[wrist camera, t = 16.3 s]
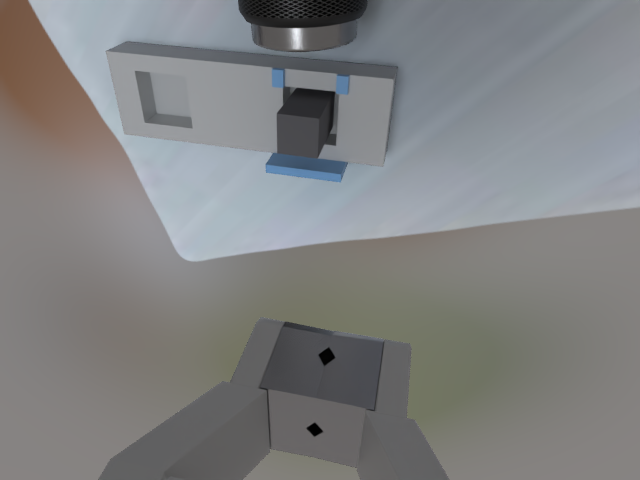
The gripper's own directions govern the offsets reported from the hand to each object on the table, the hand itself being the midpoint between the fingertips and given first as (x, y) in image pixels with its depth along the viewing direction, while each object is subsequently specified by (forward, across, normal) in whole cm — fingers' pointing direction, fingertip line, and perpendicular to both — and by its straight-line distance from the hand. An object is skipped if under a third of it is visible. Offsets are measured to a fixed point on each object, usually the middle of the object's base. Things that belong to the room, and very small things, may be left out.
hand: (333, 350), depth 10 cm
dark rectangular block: (+36, +8, +9) cm, 38 cm away
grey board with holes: (+37, +14, +9) cm, 41 cm away
